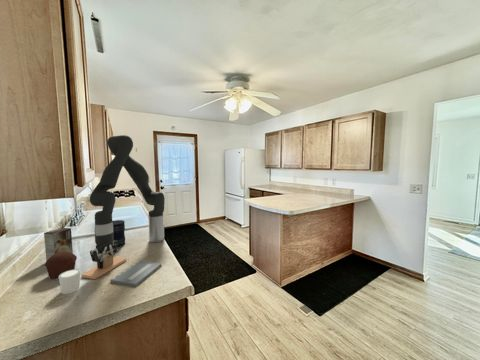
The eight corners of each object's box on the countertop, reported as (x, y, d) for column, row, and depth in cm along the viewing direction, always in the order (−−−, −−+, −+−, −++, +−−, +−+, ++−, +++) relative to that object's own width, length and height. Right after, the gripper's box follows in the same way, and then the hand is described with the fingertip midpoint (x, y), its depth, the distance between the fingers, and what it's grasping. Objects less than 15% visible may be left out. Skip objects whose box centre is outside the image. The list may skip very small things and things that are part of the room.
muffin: (40, 277, 90) (38, 255, 90) (68, 265, 101) (67, 246, 100) (53, 283, 86) (52, 261, 85) (82, 271, 96) (81, 251, 95)
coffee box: (64, 254, 113) (62, 227, 111) (73, 255, 111) (71, 228, 110) (45, 262, 104) (43, 232, 103) (55, 263, 102) (53, 233, 101)
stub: (114, 258, 108) (114, 248, 108) (126, 260, 106) (126, 250, 106) (81, 276, 90) (80, 265, 90) (95, 279, 89) (94, 267, 88)
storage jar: (119, 248, 122) (118, 224, 121) (103, 248, 122) (102, 224, 121) (128, 242, 132) (127, 220, 131) (114, 242, 132) (113, 220, 131)
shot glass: (64, 286, 84) (63, 270, 83) (83, 283, 86) (83, 267, 86) (55, 296, 77) (54, 279, 77) (77, 292, 80) (76, 276, 79)
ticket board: (139, 262, 104) (139, 260, 104) (161, 265, 102) (161, 263, 101) (110, 282, 87) (110, 279, 87) (135, 286, 84) (135, 283, 84)
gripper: (110, 227, 105) (111, 258, 106) (83, 236, 91) (85, 272, 92) (122, 228, 103) (123, 259, 104) (96, 238, 89) (98, 274, 90)
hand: (105, 265), depth 98 cm, fingers closed on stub, 5 cm apart
